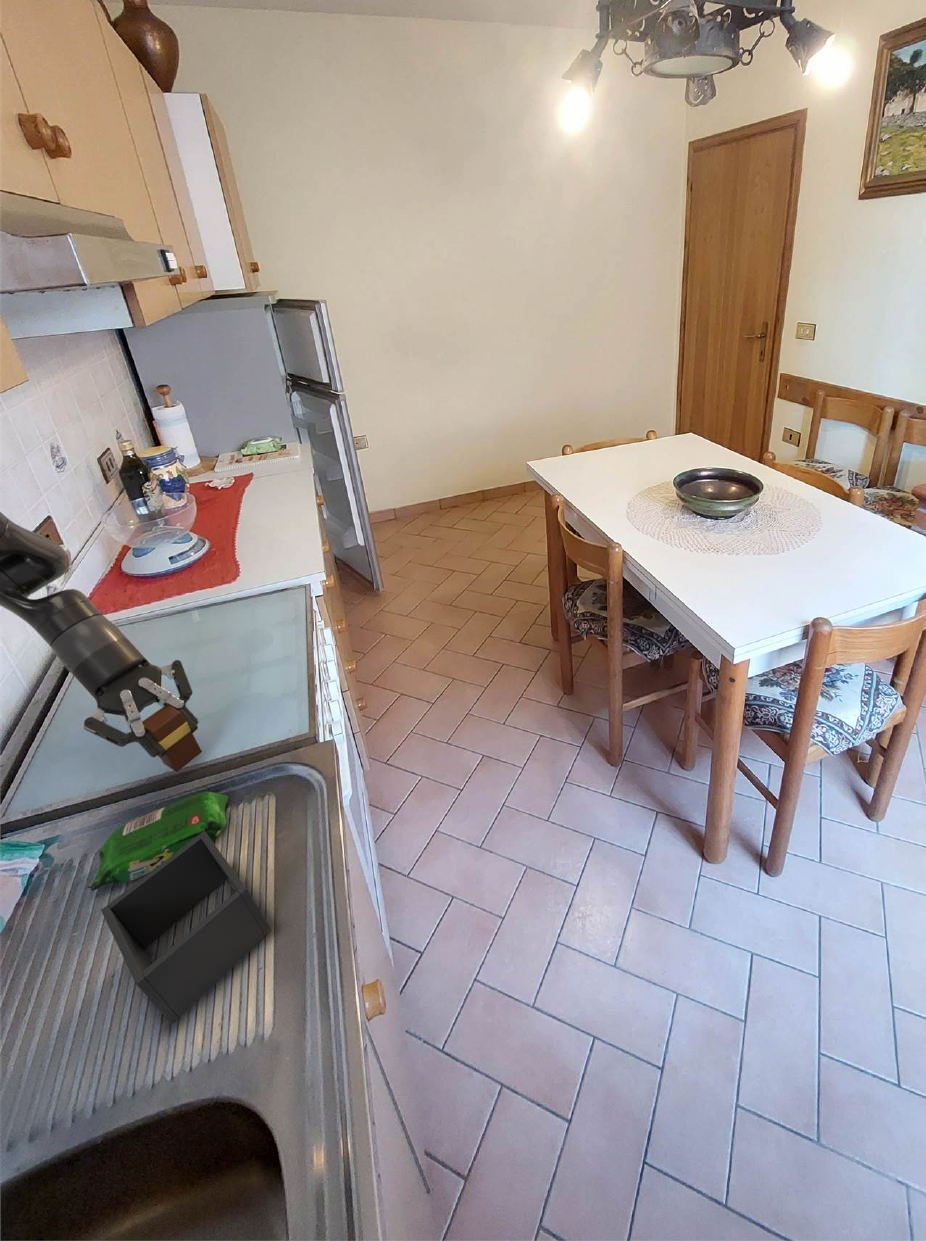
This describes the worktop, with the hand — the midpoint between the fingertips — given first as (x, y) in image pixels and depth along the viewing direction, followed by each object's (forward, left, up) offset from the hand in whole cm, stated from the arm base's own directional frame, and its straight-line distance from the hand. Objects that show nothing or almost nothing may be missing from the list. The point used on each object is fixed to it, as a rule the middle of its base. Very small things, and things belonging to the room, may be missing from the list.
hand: (179, 742), depth 83 cm
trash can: (-9, -25, -8) cm, 27 cm away
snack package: (-7, -8, -8) cm, 14 cm away
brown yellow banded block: (0, +2, -4) cm, 5 cm away
